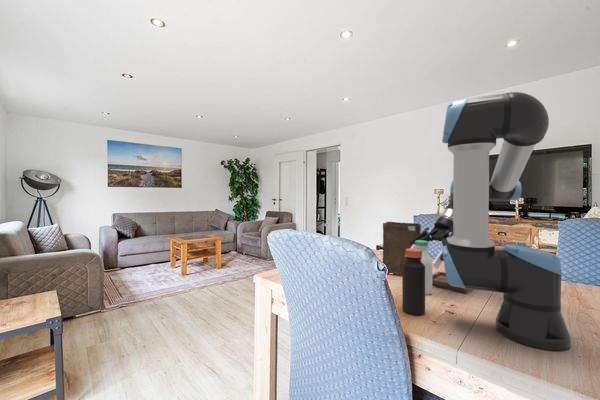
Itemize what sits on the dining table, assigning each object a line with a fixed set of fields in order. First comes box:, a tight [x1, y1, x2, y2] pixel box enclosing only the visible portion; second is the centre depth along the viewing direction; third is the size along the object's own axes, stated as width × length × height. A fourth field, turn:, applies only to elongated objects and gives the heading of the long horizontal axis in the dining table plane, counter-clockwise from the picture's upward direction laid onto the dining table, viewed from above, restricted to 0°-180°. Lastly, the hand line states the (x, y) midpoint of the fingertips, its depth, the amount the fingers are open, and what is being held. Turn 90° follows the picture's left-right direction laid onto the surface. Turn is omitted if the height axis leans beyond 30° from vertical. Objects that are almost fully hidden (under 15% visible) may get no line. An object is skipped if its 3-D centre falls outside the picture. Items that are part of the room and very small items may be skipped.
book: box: [382, 221, 422, 276], centre depth 127 cm, size 17×7×25 cm, turn 51°
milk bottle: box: [415, 240, 433, 296], centre depth 104 cm, size 8×8×20 cm
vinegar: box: [401, 248, 426, 316], centre depth 87 cm, size 7×7×20 cm
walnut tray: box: [432, 271, 474, 295], centre depth 113 cm, size 16×16×2 cm
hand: (420, 262), depth 105 cm, fingers open, 13 cm apart
